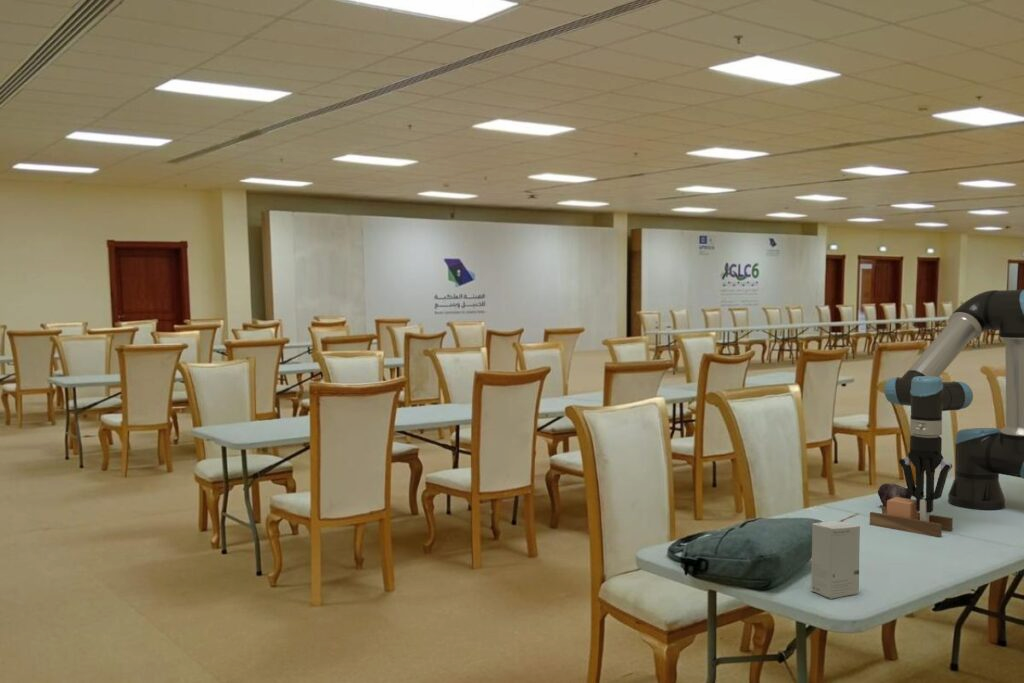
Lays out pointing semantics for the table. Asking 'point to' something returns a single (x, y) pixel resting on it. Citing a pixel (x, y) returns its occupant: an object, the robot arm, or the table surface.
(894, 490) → the rock
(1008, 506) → the table surface
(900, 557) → the table surface
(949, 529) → the chute
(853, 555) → the skincare box
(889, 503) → the block
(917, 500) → the robot arm
